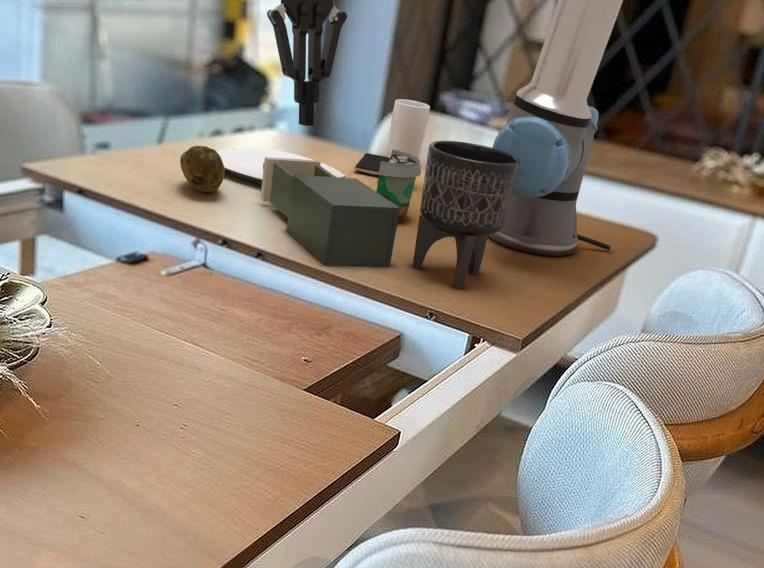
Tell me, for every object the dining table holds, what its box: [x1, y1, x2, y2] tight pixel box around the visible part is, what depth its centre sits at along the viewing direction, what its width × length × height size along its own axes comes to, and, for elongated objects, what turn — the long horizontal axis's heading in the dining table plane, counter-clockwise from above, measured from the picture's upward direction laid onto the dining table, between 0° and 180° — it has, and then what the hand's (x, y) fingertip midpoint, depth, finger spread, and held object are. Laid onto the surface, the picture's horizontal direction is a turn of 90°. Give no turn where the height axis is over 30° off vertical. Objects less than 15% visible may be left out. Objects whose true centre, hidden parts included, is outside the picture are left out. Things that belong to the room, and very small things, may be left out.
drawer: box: [260, 157, 335, 218], centre depth 164 cm, size 19×9×7 cm, turn 23°
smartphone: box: [354, 152, 388, 176], centre depth 204 cm, size 7×1×15 cm
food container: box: [376, 150, 422, 224], centre depth 170 cm, size 12×6×10 cm, turn 168°
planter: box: [412, 140, 520, 290], centre depth 145 cm, size 13×13×18 cm
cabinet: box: [286, 175, 400, 267], centre depth 151 cm, size 16×11×9 cm
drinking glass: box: [387, 98, 431, 160], centre depth 192 cm, size 7×7×15 cm
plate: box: [216, 148, 347, 185], centre depth 186 cm, size 23×23×2 cm
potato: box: [179, 145, 226, 193], centre depth 166 cm, size 8×13×8 cm, turn 174°
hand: (306, 124), depth 165 cm, fingers closed
